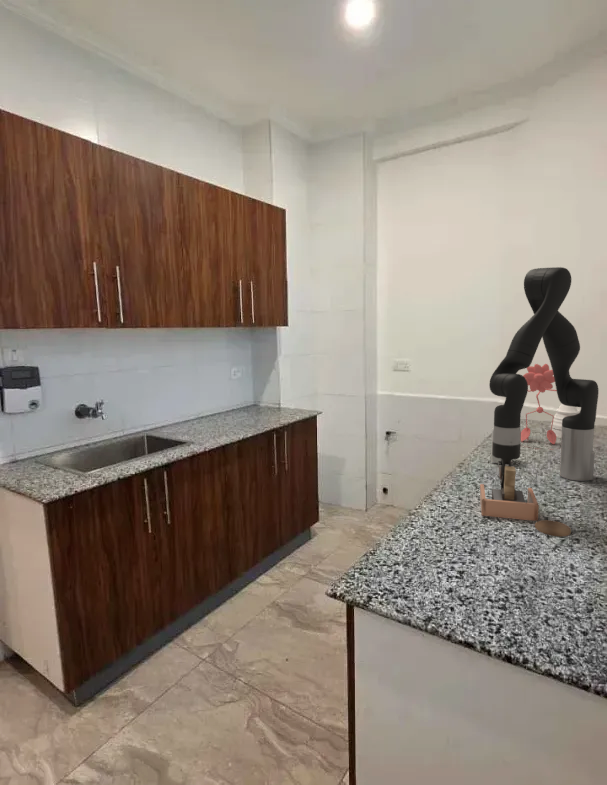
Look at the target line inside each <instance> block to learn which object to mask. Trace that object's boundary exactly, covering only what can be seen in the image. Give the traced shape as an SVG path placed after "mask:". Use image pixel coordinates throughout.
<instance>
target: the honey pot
mask: <svg viewBox="0 0 607 785" xmlns="http://www.w3.org/2000/svg"><path fill="white" fill-rule="evenodd" d="M580 410H581V409H578V407H573V406H566V405H563V404H562V403H560V405H559V407H558V408H556V409H555V413H554V415H553V416H554V419H553V418H552V419H553V425H552V421H551V423H550V426H551V425H552V431H554V433H555V434H556V438H560V439H561V436H562V420H563V418H564V417H567V416H572V415H576V414H579V413H580Z"/></svg>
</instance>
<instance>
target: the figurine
mask: <svg viewBox="0 0 607 785" xmlns="http://www.w3.org/2000/svg"><path fill="white" fill-rule="evenodd" d="M526 370H527V372H526V373H524V374H523V375H522V376H524V377H525V379H526V381H527V384H528V386H529V389H528V392H530V393H531V392H533V393H534V392H536V391H538V393H537V394H536V396H535V397H536V401H537V403H538V406H537V408H536V410H533V411H530V412H528V413H525V422H526V423H525V425H526V427H524V428H523V429H522V430H520V431H521V443H522V442H524V441H526V440H527V441H528V440H530V439H529V437H530V435H531V429H530V427H528V415H529V414H532V413H536V412H537V413H538V414H541V413H545V414H547V415H549V416H552V421H551V422H552V425H553V419H554V416H555V415H553V414H550V413H549V412H547V411H544V408H543V407H542V406H541V404H540V401H539V395H540V393H542V394H543V393H545V392H546V391H550V392H557V390H556V389H553V387H554V386H553V383H555V379H554V374H553V370H552V369H550V365H549V364H548V363H545V364H543V365H540V364H538V363H535V364H534V366H531V365H530V366H529V367H528V368H526ZM528 392H527V393H528ZM552 425H551V424H550V429H548V430H547V431H546V438H547V440H548V441H549V442H550V444H552V445H553V446H554V445H555V444H556V441H557V437H556V434H555V433H554V431H552ZM523 447H525V448H526V445H525V446H524V445H523ZM529 448H530V449H531V447H530V446H529V447H528V449H529ZM534 449H535V450H540V448H537V447H535V448H534ZM558 449H559V450H561V447H559V448H558ZM549 450H551V451H553V448H549Z"/></svg>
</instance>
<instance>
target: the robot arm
mask: <svg viewBox="0 0 607 785" xmlns="http://www.w3.org/2000/svg"><path fill="white" fill-rule="evenodd" d="M571 286H572V275H571V272H570V270H568V268H565V267H561V266H560V267H558V266H557V267H540V268H539V267H538V268H532V269H531V270H529V271H527V273H526V274H525V275H524V280H523V290H524V294H525V296H526V299H527V301H528V304H529V306H530V308H531V311H532V313H533V315H532V316H531V317H530V318H529V319H528V320H527V321H526V322H525V323H524V324H523V325H522V326H521V327H519V329H518V330H517V332H516V333H515V334H514V336H513V338H512V340H511V342H510V345H509V347H508V350H507V352H506V355H505V357H504V358H503V359H502V360H501V362H500V363H499V364H498V366H497V367H496V369H495V370H494V371H493V372H492V374H491V376H490V380H489V390H490V392H491V393H492V394H493V395H495V396H498V397H502V398H505V400H504V403H503V404H501V405H497V406H495V408H494V411H493V427H494V428H493V442H492V441H491V445H492V455H493V456H494V457H496V458H501V461H498V463H497V466H498V476H499V484H500V489H501V488H504V473H505V466H510V467H515V465H514V463H513V460H518V459H520V457H521V443H522V442H521V441H522V440H521V431H522V430H521V418H522V417H521V414H522V409H523V407H524V404H525V400H526V398H527V396H528V391H529V385H528V384H527V381H526V379H525V377H524V376H523V375H522V374H520V373H518V372H519V371H521V370H525V369H527V368H528V367H529V366H531V365H532V363H533V360H534V358H535V354H536V352H537V350H538V348H539V345H540V342H541V340H542V342H543V344H544V349H545V351H546V354H547V357H548V359H549V364H550V366H551V370H553V374H554V375H553V376H554V379H555V382H554V384H555V385H554V386H555V390H557V391H556V395H557V398H558V400H559V402H560V404H563V405H566V406H573V407H576V408H580V409H579V410H580V413H579V414H576V415H572V416H567V417H564V418H563V420H562V436H561V438H560V439H561V440H560V448H561V449H560V455H559V456H560V457H559V458H560V459H559V460H560V461H559V476H560V477H562V478H564V479H567V480H571V481H578V482H579V481H581V482H583V481H594V474H595V472H594V470H595V458H596V457H595V456H596V452H595V451H594V437H595V424H596V418H597V417H596V416H597V407H598V400H599V385H598V382H596V380H593V379H584V378H583V379H582V378H572V376H571V374H570V369H571V368H572V366H573V363H574V362H575V360H576V359H577V357H578V355H579V354H580V350H581V344H580V340H579V336H578V332H577V330H576V328H575V326H574V325H573V324H572V323H571V322H570V320H569V319H567V317H565V316H564V315H563V314H562V313H561V312H560V311H559V310H560V307H561V306H562V305H563V303H564V301H565V299H566V298H567V296H568V294H569V291H570V289H571ZM511 460H512V462H511Z"/></svg>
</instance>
